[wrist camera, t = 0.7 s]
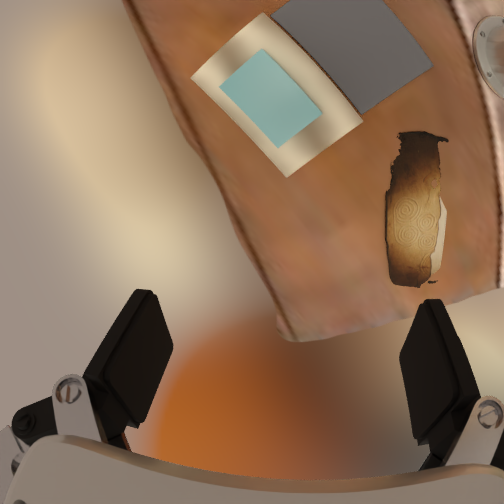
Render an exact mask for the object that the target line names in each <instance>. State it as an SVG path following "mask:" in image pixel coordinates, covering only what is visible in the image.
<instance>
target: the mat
mask: <svg viewBox="0 0 504 504" xmlns="http://www.w3.org/2000/svg"><path fill="white" fill-rule="evenodd" d="M270 16H271V17H272V18H273V19H274V20H275V21H277V22H278V23H279V24H280V25H281V26H282V27H283V28H284V29H285V30H286V31H287V32H288V33H289V34H290V35H291V36H292V37H293V38H294V39H295V40H296V41H297V42H298V43H299V44H300V45H301V46H302V47H303V48H304V49H305V50H306V51H307V52H308V53H309V54H310V55H311V56H312V57H313V58H314V59H315V60H316V61H317V62H318V63H319V65H320V66H321V67H322V68H323V69H324V70H325V71H326V72H327V73H328V75H329V76H330V77H331V78H332V79H333V80H334V82H335V83H336V84H337V85H338V86H339V87H340V89H341V90H342V91H343V92H344V93H345V95H346V96H347V97H348V98H349V100H350V101H351V102H352V103H353V105H354V106H355V107H356V109H357V110H358V111H359V112H360V114H361V115H362V114H364V113H365V112H366V111H368V110H369V109H371V108H372V107H374V106H375V105H376V104H378V103H379V102H381V101H382V100H384V99H385V98H386V97H388V96H389V95H391V94H392V93H394V92H395V91H397V90H398V89H400V88H401V87H403V86H404V85H406V84H407V83H409V82H410V81H412V80H413V79H415V78H416V77H418V76H419V75H421V74H422V73H424V72H425V71H427V70H428V69H430V68H431V67H433V66H434V65H433V64H432V62H431V61H430V59H429V58H428V57H427V55H426V54H425V52H424V51H423V50H422V48H421V47H420V45H419V44H418V43H417V41H416V40H415V39H414V37H413V36H412V35H411V34H410V32H409V31H408V30H407V29H406V27H405V26H404V25H403V24H402V22H401V21H400V20H399V19H398V18H397V17H396V15H395V14H394V13H393V12H392V11H391V10H390V8H389V7H388V6H387V5H386V4H385V3H384V2H383V1H382V0H290V1H289V2H288V3H286V4H285V5H284V6H282V7H281V8H280V9H278V10H277V11H276V12H274V13H273V14H272V15H270Z"/></svg>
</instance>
